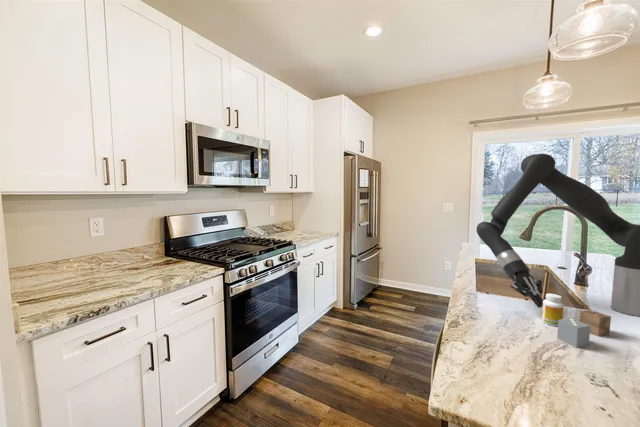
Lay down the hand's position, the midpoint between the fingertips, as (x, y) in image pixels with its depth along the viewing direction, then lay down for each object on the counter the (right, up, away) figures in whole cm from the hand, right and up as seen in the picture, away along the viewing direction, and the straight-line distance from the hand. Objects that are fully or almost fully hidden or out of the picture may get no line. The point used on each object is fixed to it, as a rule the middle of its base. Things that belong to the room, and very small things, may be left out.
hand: (542, 306), depth 95 cm
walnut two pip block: (+9, -5, -9) cm, 14 cm away
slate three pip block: (-3, -5, -15) cm, 16 cm away
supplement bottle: (+1, -5, -3) cm, 6 cm away
